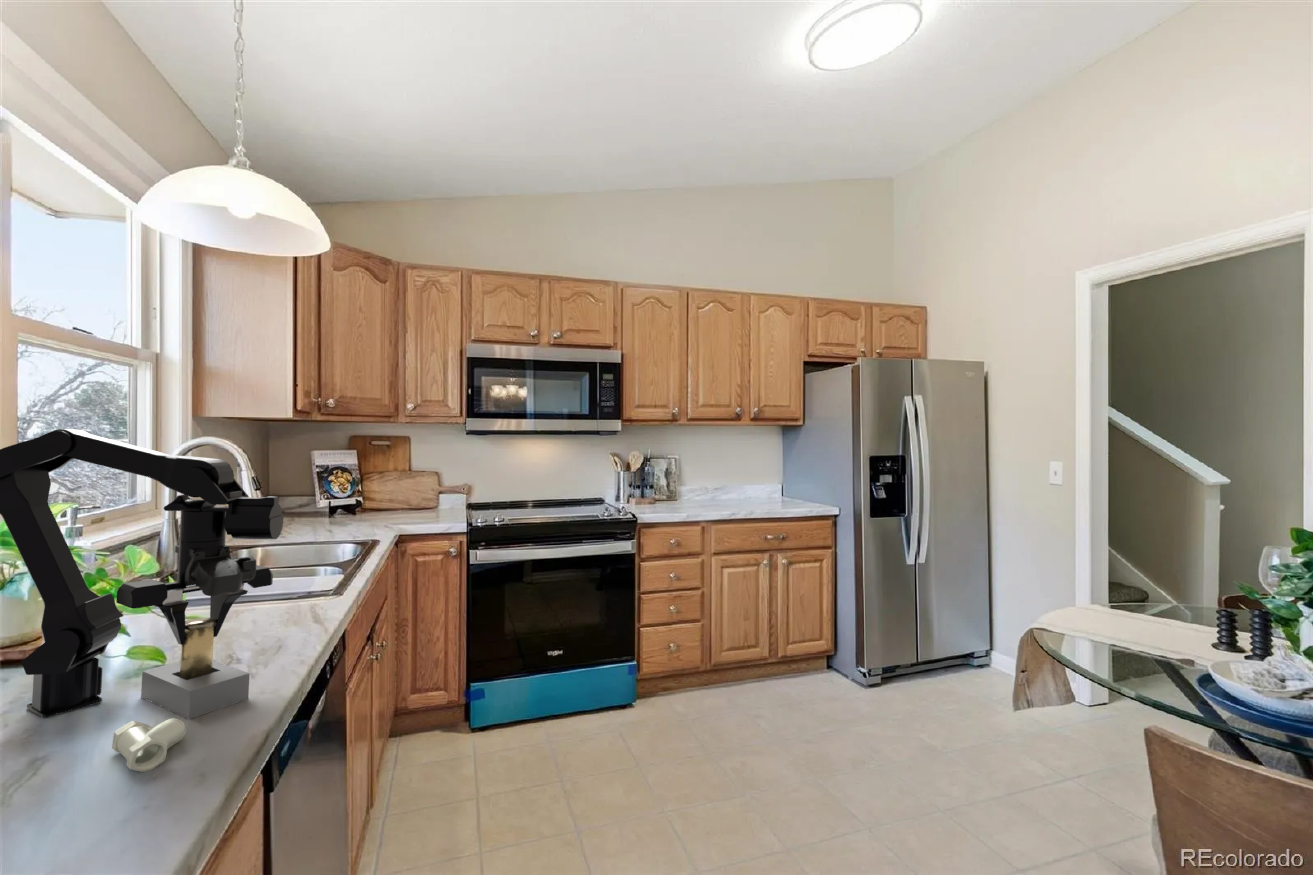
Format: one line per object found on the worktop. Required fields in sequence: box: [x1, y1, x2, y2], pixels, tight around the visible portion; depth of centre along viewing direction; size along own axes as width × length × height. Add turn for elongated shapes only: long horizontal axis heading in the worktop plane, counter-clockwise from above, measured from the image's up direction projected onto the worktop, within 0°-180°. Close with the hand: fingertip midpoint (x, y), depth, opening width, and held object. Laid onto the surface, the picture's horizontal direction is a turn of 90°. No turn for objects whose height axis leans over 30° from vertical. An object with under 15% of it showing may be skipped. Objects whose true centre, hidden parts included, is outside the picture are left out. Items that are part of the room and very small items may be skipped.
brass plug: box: [179, 617, 215, 680], centre depth 92 cm, size 4×4×8 cm
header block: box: [140, 659, 250, 720], centre depth 92 cm, size 8×14×4 cm, turn 63°
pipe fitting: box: [111, 718, 186, 773], centre depth 76 cm, size 8×4×7 cm
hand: (197, 640), depth 92 cm, fingers closed on brass plug, 4 cm apart
